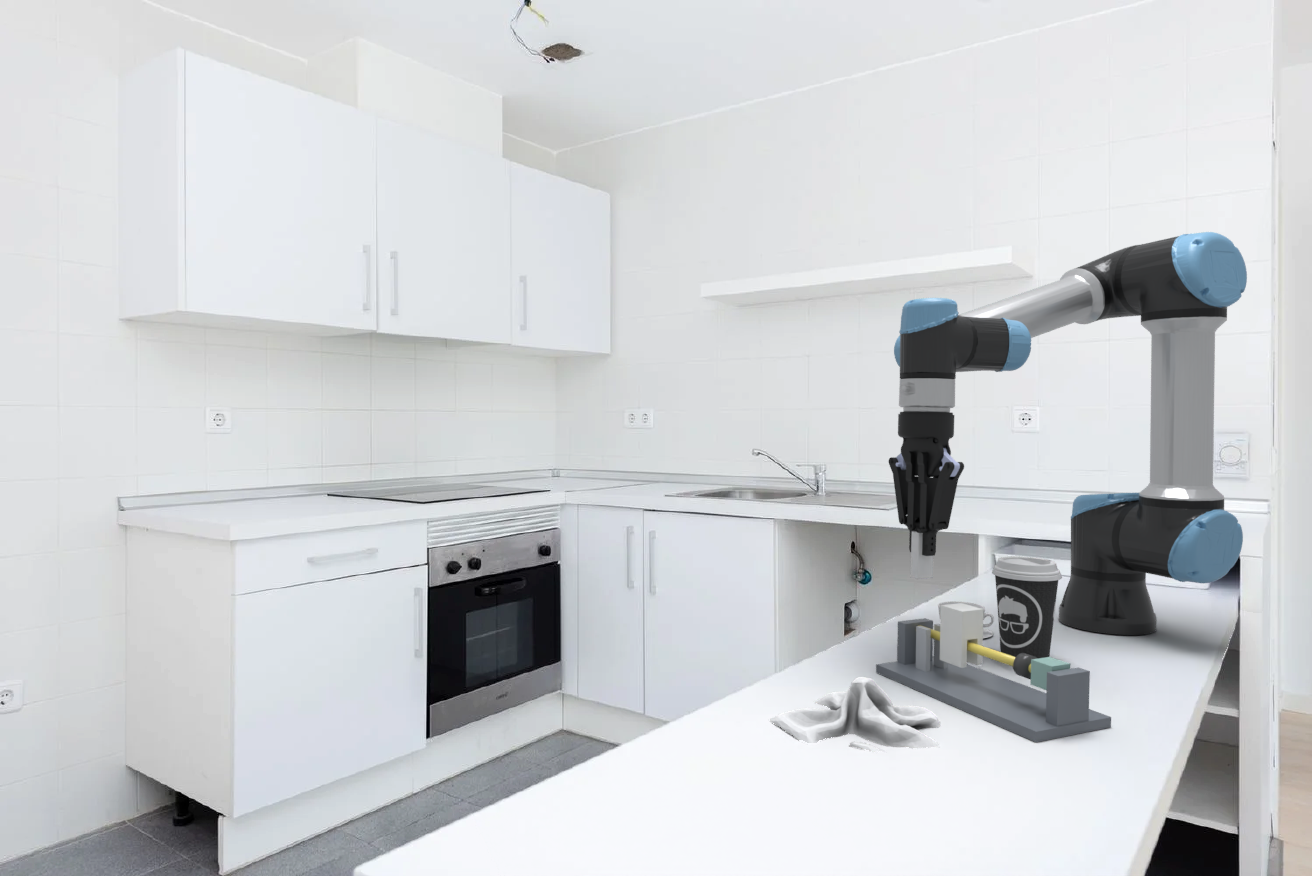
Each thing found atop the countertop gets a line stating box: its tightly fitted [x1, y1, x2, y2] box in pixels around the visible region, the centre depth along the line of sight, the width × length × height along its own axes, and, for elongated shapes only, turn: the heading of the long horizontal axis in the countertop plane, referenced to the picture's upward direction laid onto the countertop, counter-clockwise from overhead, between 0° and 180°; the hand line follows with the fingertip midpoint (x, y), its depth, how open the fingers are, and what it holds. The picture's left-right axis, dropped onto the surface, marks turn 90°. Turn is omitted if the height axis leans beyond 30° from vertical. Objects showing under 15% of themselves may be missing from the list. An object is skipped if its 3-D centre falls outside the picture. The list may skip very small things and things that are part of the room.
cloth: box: [769, 676, 941, 753], centre depth 101 cm, size 22×19×6 cm
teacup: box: [933, 601, 995, 639], centre depth 145 cm, size 10×10×5 cm
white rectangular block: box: [939, 603, 984, 668], centre depth 116 cm, size 4×4×7 cm
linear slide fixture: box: [875, 618, 1112, 743], centre depth 112 cm, size 28×12×8 cm, turn 24°
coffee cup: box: [991, 555, 1063, 659], centre depth 128 cm, size 10×10×15 cm
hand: (921, 577), depth 122 cm, fingers closed
